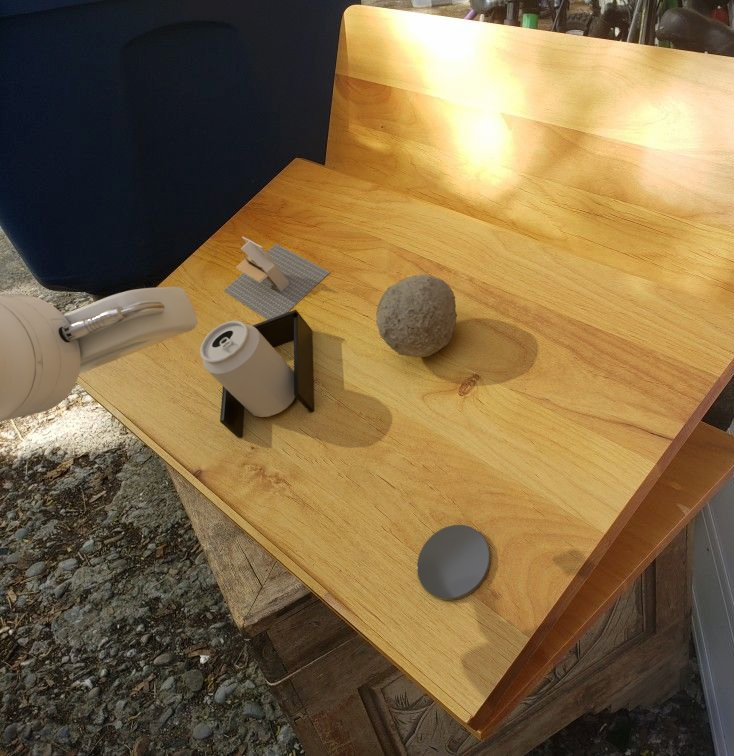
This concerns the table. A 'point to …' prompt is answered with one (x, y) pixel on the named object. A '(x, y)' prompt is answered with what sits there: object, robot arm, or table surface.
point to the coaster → (454, 562)
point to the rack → (301, 333)
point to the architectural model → (273, 279)
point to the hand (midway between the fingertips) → (123, 344)
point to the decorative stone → (417, 315)
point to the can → (248, 368)
